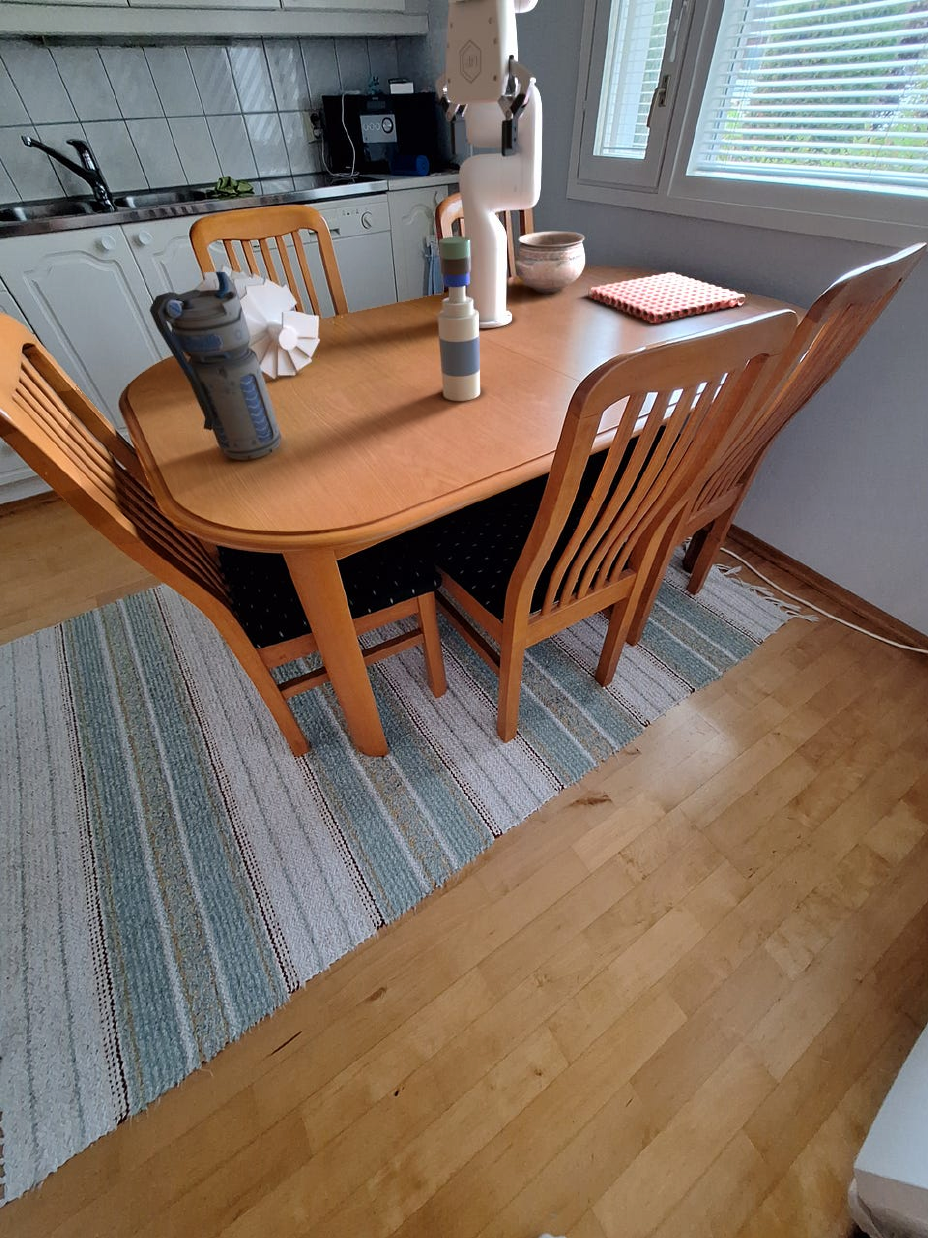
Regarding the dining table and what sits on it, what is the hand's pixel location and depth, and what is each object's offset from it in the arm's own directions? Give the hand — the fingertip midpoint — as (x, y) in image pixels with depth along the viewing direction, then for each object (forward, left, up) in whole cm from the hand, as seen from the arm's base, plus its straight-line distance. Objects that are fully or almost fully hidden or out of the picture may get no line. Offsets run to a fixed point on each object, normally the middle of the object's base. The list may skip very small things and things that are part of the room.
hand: (483, 154), depth 83 cm
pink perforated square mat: (-26, +62, -34) cm, 76 cm away
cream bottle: (+4, -7, -34) cm, 35 cm away
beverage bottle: (+9, -48, -34) cm, 60 cm away
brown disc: (+4, -7, -14) cm, 16 cm away
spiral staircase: (-30, -40, -34) cm, 61 cm away
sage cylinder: (+4, -7, -12) cm, 14 cm away
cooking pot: (-50, +41, -34) cm, 73 cm away
